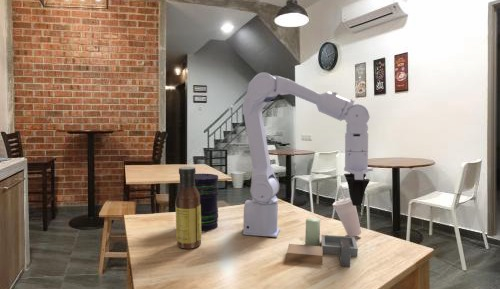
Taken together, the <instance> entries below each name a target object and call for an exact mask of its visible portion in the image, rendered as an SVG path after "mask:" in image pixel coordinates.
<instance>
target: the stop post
mask: <svg viewBox="0 0 500 289" xmlns="http://www.w3.org/2000/svg"><path fill="white" fill-rule="evenodd" d="M351 257H352V256H351V248H350V243H349V240H341V239H340V254H339V264H340V267H346V268H351Z"/></svg>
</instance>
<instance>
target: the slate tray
mask: <svg viewBox="0 0 500 289" xmlns="http://www.w3.org/2000/svg"><path fill="white" fill-rule="evenodd" d="M355 237H356V236H354V237H349V236H343V235H332V234H331V235H330V234H329V235H328V234H321V239H320V244H321V246H322V249H323V254H328V255H337V256H338V255H339V254H340V239H341V240H349V243H350V248H351V257H358V255H359V254H358V252H359V248H358V245H357V241H356V238H355Z"/></svg>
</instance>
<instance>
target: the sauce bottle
mask: <svg viewBox="0 0 500 289" xmlns="http://www.w3.org/2000/svg"><path fill="white" fill-rule="evenodd" d="M196 170H197V169H196V167H195V166H182V167H179V168H178V174H179V188H178V191H177V194H176V197H175V200H174V201H175V205H174V206H175V207H174V208H175V234H176V235H175V236H176V239H175V240H176V242H177V243H176V245H177V246H178V247H179V248H180V249H185V250H190V249H196V248H198V247H200V246H201V244H202V231H201V204H200V194H199V191H198V189H197V188H196V187H195V174H196Z"/></svg>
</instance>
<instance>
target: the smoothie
mask: <svg viewBox="0 0 500 289" xmlns="http://www.w3.org/2000/svg"><path fill="white" fill-rule="evenodd" d="M339 190H340V192H341V195H342V198H341V199H338V200H336V201H335V202H333V203H332V207H333V209H335V212H336V214H337V215H338V218H339V220H340V222H341V223H342V226H343V228H344V230H345V232H346V234H347V237H357V236H359V235H361V234H362V231H361V230H362V229H361V225H360V220H359V214H358V211H357V206H353V204H352V200H351V199H350V196H349V197H346V196H345V192H344V189H343V186H342V185H339Z"/></svg>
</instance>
